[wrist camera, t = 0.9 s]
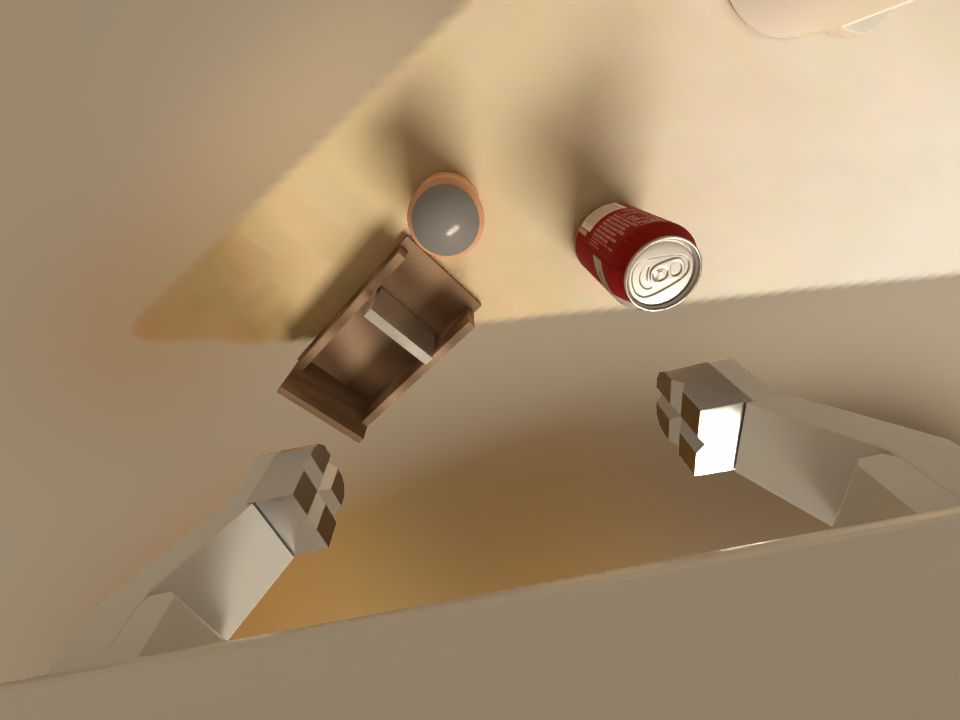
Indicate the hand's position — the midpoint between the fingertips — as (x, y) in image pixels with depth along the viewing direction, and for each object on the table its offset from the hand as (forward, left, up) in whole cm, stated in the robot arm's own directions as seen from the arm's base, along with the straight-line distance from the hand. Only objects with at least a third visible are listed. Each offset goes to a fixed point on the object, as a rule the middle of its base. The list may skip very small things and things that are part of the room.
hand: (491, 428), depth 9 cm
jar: (+1, -1, -31) cm, 31 cm away
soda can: (-8, +12, -31) cm, 34 cm away
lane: (+15, +3, -31) cm, 34 cm away
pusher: (+12, +2, -30) cm, 32 cm away
